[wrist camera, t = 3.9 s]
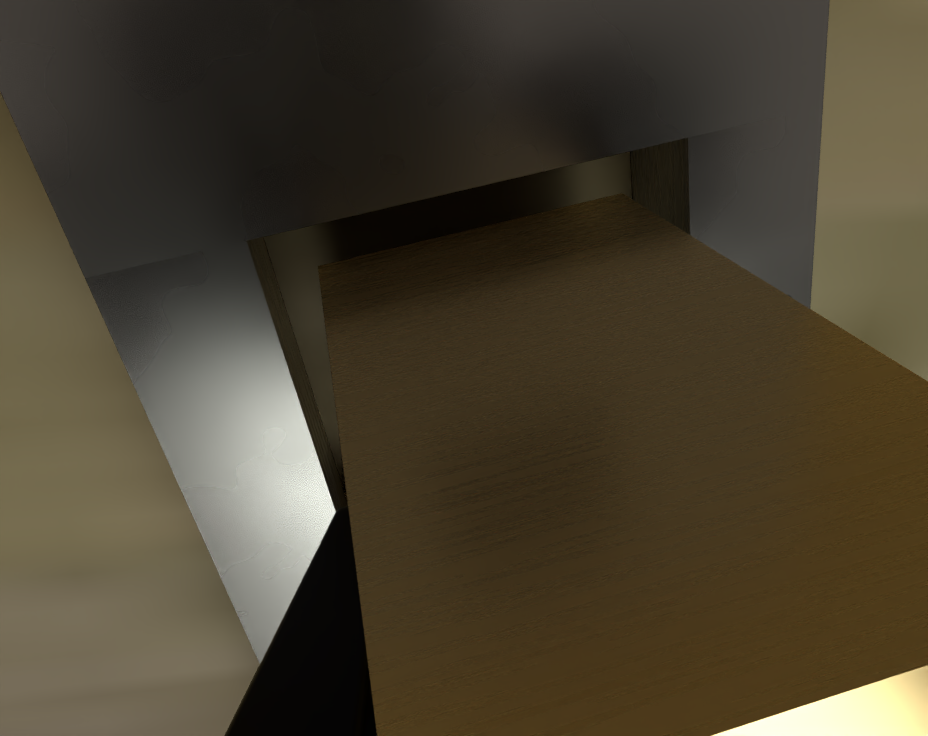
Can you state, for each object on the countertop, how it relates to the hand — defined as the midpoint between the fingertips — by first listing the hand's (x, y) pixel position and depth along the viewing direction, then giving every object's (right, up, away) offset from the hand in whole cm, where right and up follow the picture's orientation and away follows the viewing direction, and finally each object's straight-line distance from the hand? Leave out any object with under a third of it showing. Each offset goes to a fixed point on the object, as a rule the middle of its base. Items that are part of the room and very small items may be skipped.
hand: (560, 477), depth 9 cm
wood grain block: (-1, +1, +3) cm, 3 cm away
